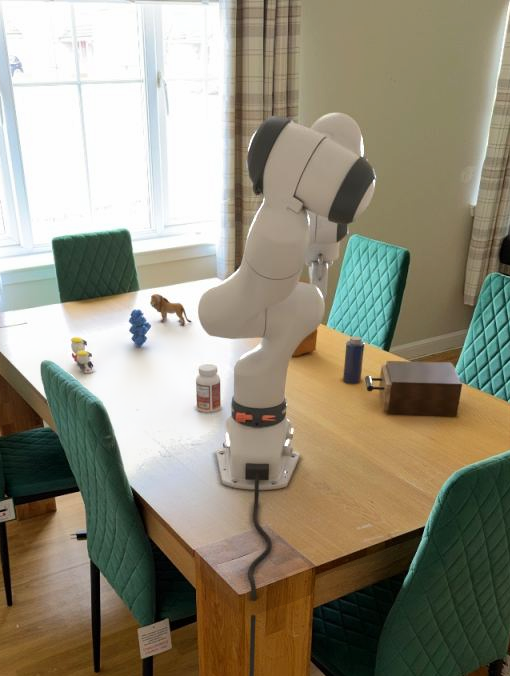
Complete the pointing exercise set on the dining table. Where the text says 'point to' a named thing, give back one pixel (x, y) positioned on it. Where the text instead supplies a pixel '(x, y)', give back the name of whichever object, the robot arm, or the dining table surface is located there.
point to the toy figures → (81, 354)
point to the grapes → (138, 327)
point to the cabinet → (423, 388)
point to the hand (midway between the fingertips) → (316, 309)
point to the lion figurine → (167, 308)
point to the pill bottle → (208, 388)
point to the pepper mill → (353, 360)
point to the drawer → (381, 386)
